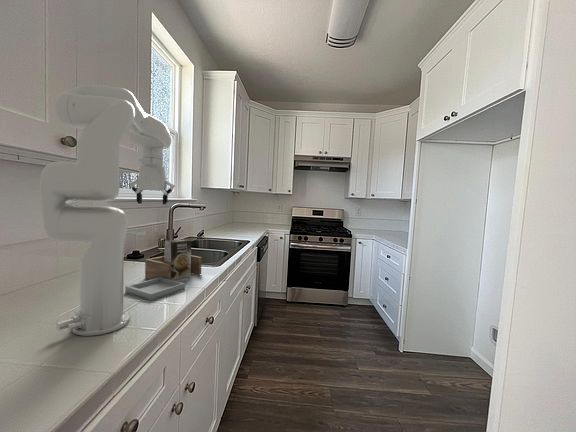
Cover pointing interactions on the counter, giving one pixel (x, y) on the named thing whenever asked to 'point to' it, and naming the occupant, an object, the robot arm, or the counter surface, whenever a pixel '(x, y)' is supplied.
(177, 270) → the coffee box
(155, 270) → the brown open box
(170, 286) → the tray
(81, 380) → the counter surface
